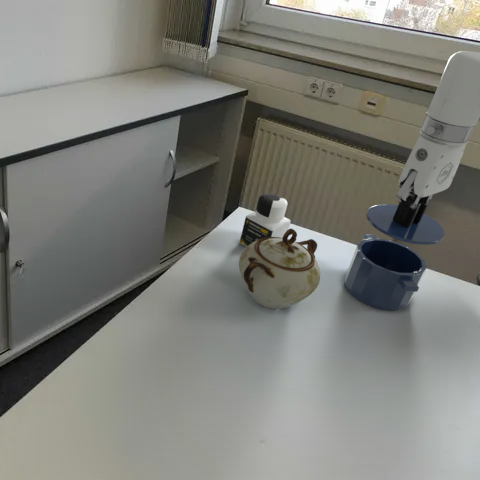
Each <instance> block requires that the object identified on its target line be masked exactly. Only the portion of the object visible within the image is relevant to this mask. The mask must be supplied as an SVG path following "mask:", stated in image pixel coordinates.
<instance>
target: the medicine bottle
mask: <svg viewBox="0 0 480 480" xmlns="http://www.w3.org/2000/svg"><path fill="white" fill-rule="evenodd" d="M287 208H288V201H287V199H286V198H284V197H283V196H281V195H279V194H277V193H264V194H263V193H262V194H261V195H259V197H258V200H257V204H256V208H255V211H254V212H252V213H249V214H247V215H246V216H245V218H244V222H243V226H242V231H241V234H240V239H239V243H240V244H241V245H243V246H244V247H247V246H248V245H250V244H251V243H253V242H255V241H258V240H260V239H262V238H266V237H280V238H283V236H284V234H285V232H286V231H287V230H288V229H290V225H291V222H292V220H291V219H290V218H287V217H286V216H285V215H286V211H287Z"/></svg>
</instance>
